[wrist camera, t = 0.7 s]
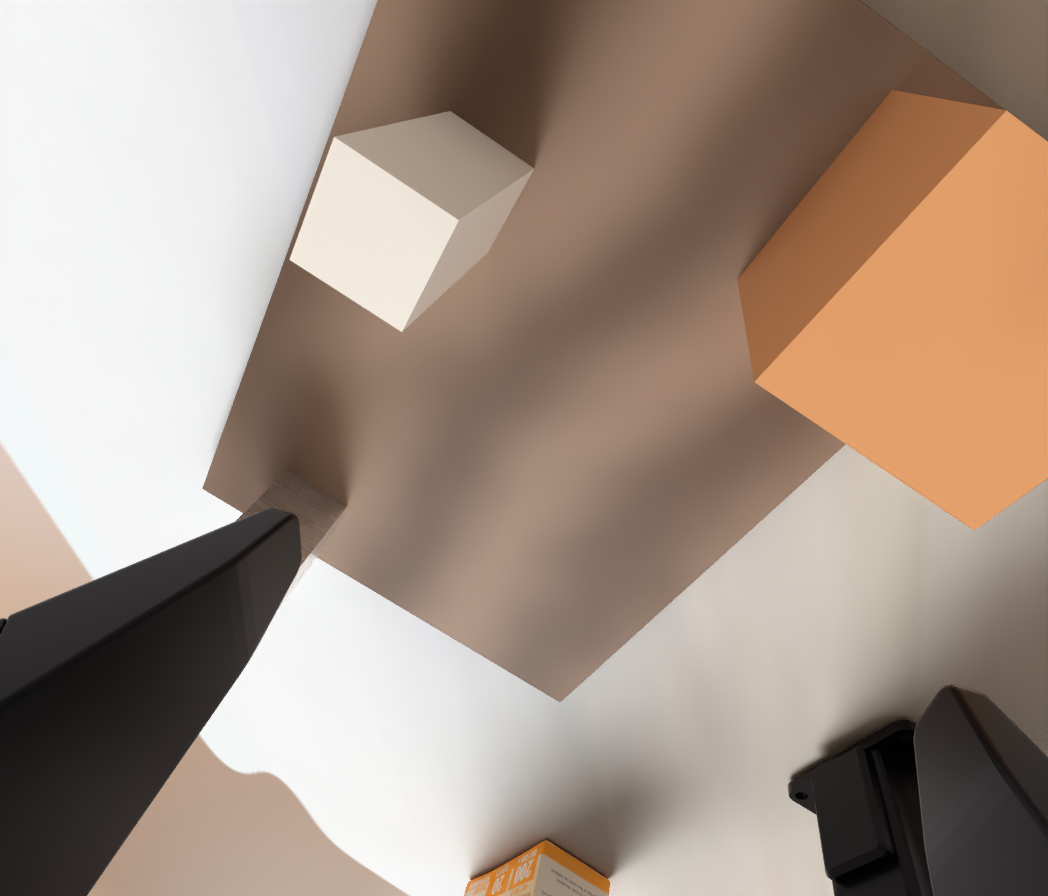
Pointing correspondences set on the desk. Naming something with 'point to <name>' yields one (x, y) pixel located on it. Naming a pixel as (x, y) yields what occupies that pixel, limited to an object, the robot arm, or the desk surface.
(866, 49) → the walnut board
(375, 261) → the white post
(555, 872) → the supplement box
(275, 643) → the desk surface
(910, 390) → the peach wooden cube
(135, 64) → the desk surface
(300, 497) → the steel post
